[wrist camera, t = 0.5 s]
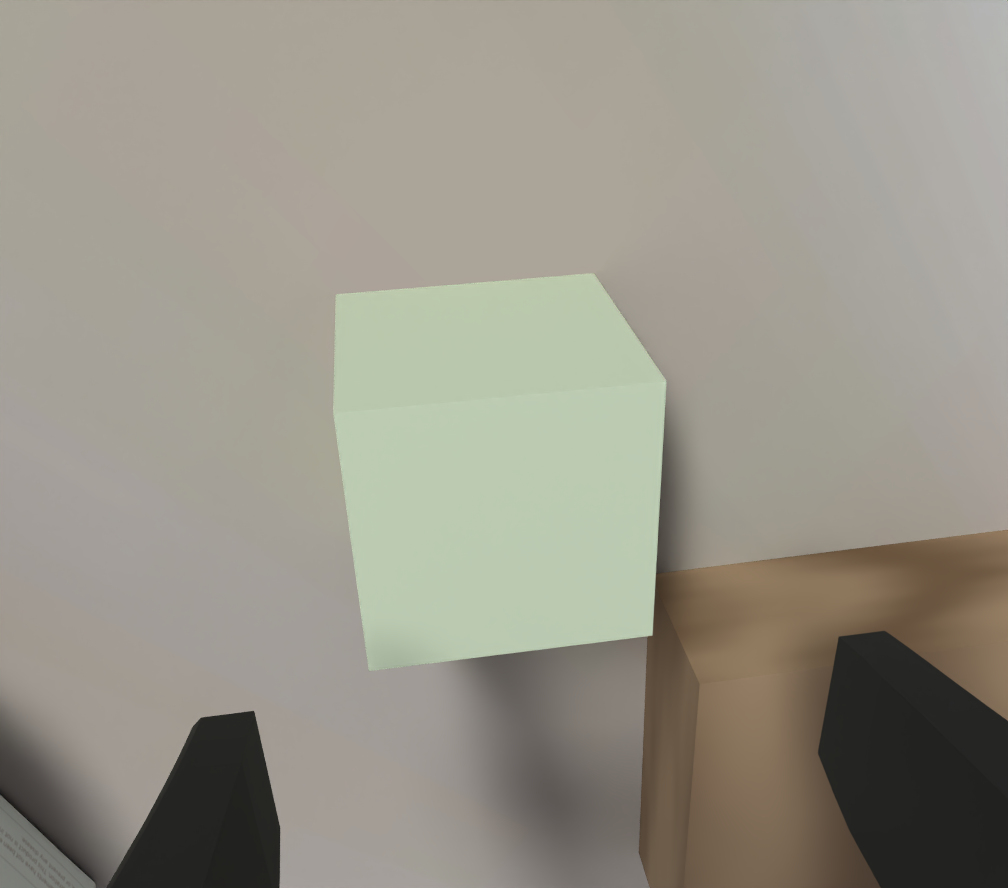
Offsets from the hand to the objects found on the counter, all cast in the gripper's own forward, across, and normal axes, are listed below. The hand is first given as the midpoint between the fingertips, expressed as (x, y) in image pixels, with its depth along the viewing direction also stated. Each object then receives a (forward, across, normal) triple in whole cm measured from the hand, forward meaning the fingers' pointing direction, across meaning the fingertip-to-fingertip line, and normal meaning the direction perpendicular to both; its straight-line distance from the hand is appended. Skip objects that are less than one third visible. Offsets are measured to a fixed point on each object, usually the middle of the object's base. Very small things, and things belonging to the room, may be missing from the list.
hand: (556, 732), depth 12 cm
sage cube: (+9, 0, 0) cm, 9 cm away
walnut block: (+10, -9, +10) cm, 16 cm away
